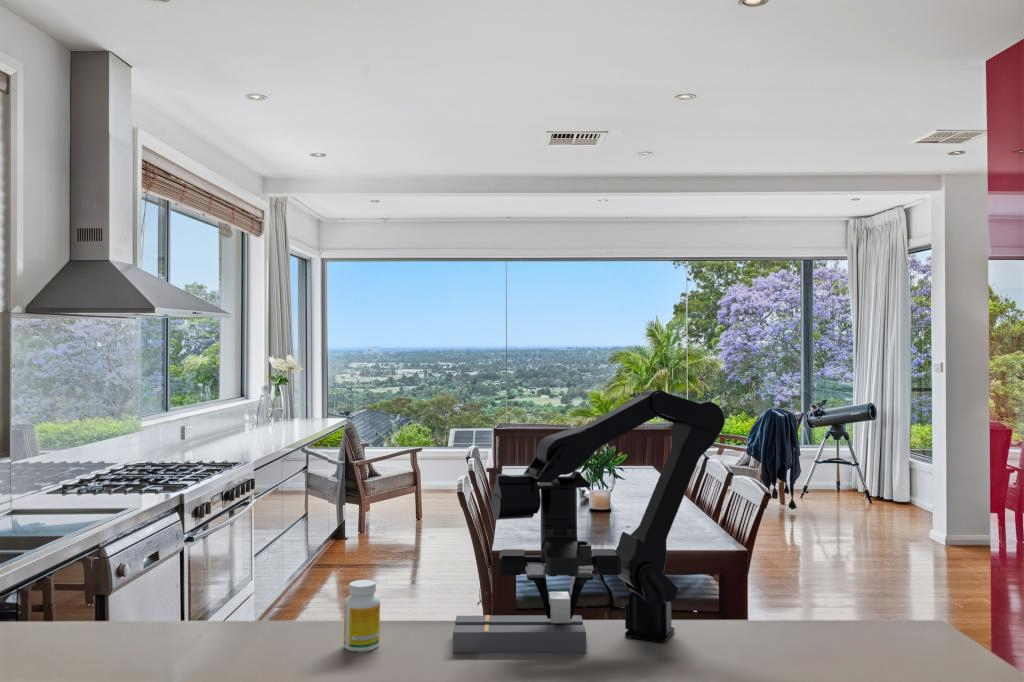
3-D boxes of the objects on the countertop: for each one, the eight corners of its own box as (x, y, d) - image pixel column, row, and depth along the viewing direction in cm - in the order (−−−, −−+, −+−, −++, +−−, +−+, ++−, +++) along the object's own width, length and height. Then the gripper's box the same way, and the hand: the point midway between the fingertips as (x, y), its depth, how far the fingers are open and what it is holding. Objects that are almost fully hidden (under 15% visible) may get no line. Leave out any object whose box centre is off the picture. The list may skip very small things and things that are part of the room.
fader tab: (568, 627, 118) (568, 591, 118) (570, 635, 114) (570, 599, 114) (549, 627, 118) (549, 591, 118) (550, 635, 114) (550, 599, 114)
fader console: (581, 634, 119) (581, 614, 120) (586, 652, 111) (586, 631, 112) (456, 634, 119) (456, 614, 120) (452, 652, 111) (452, 631, 112)
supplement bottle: (336, 646, 114) (337, 583, 115) (365, 637, 118) (366, 576, 118) (357, 655, 110) (358, 589, 111) (386, 646, 114) (387, 582, 115)
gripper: (498, 526, 108) (498, 636, 108) (626, 526, 109) (627, 635, 108) (499, 513, 120) (499, 612, 119) (615, 512, 120) (616, 611, 119)
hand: (559, 618), depth 116 cm, fingers closed on fader tab, 3 cm apart
